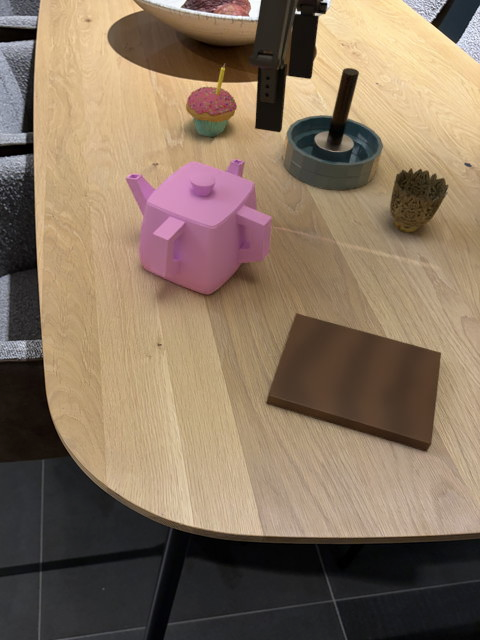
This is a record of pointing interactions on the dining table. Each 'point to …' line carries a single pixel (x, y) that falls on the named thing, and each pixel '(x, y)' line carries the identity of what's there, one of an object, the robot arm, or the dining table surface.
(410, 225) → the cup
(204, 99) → the cupcake
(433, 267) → the dining table surface
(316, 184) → the bowl
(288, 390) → the board
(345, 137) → the handled rubber stamp
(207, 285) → the teakettle
